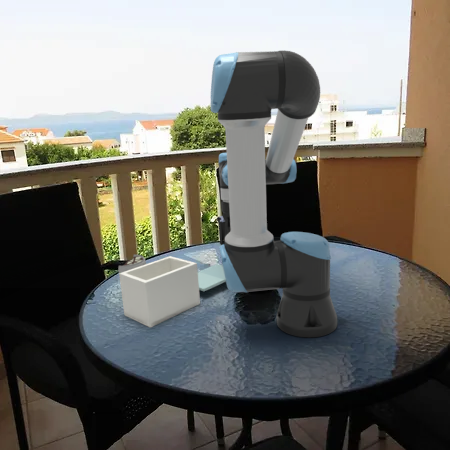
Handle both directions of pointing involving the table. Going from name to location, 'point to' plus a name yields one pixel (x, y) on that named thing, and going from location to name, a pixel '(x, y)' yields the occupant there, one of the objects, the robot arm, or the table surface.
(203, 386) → the table surface
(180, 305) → the tub
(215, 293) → the table surface
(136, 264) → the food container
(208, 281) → the lid
